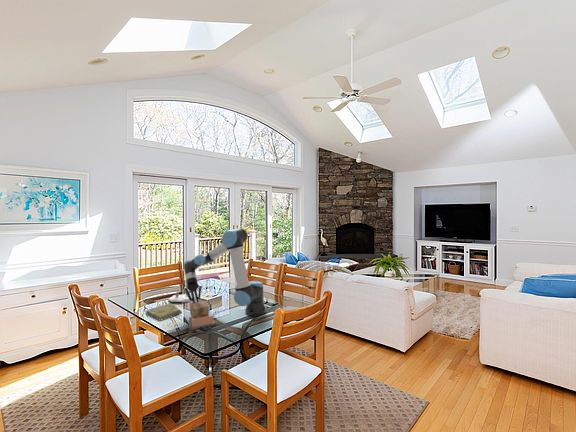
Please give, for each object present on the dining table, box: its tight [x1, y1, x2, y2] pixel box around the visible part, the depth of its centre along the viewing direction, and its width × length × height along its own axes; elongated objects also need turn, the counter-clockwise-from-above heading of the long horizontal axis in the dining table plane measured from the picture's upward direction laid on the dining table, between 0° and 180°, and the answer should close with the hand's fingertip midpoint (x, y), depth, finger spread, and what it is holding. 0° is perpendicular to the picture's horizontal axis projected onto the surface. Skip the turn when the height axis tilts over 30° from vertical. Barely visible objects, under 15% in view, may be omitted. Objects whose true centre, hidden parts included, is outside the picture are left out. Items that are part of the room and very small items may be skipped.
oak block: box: [189, 300, 210, 323], centre depth 215 cm, size 13×12×10 cm
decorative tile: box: [146, 303, 182, 321], centre depth 231 cm, size 19×20×4 cm
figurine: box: [168, 279, 192, 303], centre depth 258 cm, size 20×18×16 cm
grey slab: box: [184, 314, 216, 330], centre depth 216 cm, size 16×22×6 cm
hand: (196, 308), depth 221 cm, fingers closed
